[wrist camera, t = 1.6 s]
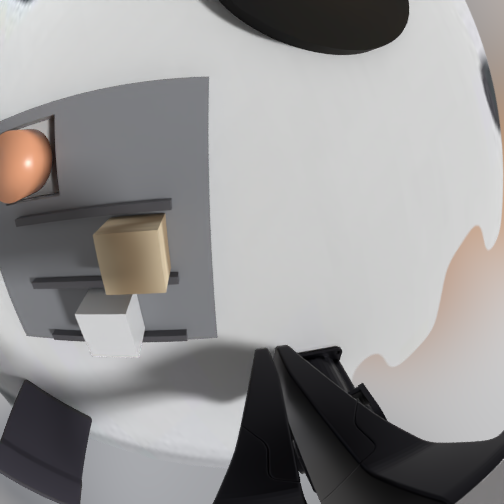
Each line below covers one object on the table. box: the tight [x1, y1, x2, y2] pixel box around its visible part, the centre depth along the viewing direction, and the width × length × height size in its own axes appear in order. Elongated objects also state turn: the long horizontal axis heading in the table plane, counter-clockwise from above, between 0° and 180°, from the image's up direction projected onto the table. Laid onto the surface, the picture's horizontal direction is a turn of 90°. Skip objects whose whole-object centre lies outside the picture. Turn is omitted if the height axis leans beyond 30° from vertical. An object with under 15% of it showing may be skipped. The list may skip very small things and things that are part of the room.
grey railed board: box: [0, 77, 217, 342], centre depth 17 cm, size 20×20×2 cm
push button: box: [0, 129, 52, 204], centre depth 13 cm, size 5×5×3 cm
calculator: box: [0, 380, 92, 504], centre depth 19 cm, size 11×4×15 cm, turn 48°
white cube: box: [75, 288, 145, 358], centre depth 18 cm, size 4×4×4 cm
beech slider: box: [93, 213, 171, 295], centre depth 16 cm, size 4×4×4 cm
